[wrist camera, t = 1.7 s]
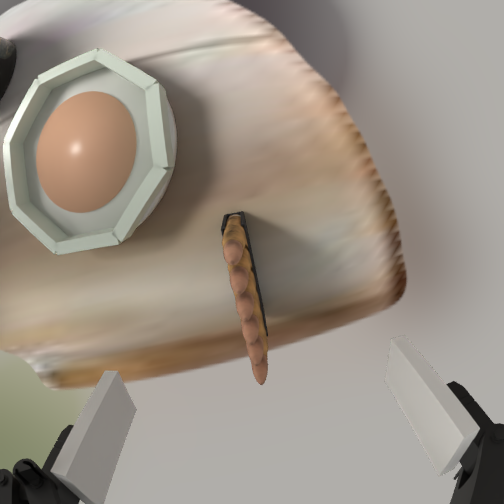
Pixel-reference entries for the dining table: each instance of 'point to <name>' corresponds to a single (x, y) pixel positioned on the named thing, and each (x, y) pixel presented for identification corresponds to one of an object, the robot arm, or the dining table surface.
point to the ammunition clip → (246, 291)
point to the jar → (6, 63)
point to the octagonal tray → (89, 153)
